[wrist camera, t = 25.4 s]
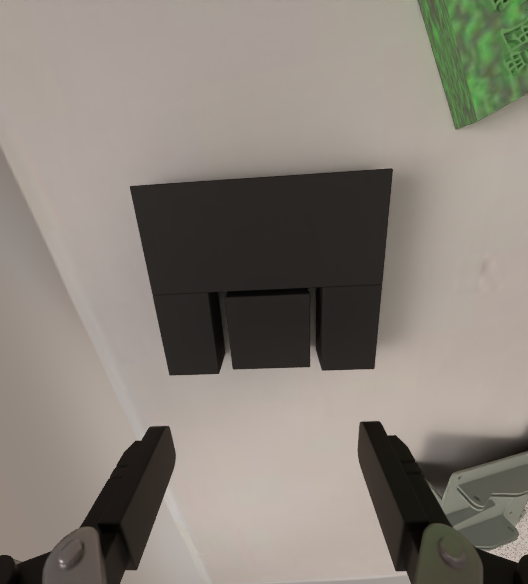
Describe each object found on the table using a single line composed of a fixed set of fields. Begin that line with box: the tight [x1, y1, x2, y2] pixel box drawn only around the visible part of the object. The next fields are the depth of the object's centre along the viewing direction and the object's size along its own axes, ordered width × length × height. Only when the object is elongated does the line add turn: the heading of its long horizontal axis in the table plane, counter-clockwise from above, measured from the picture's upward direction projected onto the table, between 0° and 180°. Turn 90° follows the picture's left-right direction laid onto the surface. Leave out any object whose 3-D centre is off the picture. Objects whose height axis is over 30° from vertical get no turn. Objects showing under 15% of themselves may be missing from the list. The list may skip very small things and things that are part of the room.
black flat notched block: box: [130, 169, 393, 375], centre depth 20 cm, size 16×14×3 cm
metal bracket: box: [426, 451, 528, 551], centre depth 27 cm, size 14×6×15 cm
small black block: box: [225, 288, 310, 369], centre depth 21 cm, size 6×6×3 cm
